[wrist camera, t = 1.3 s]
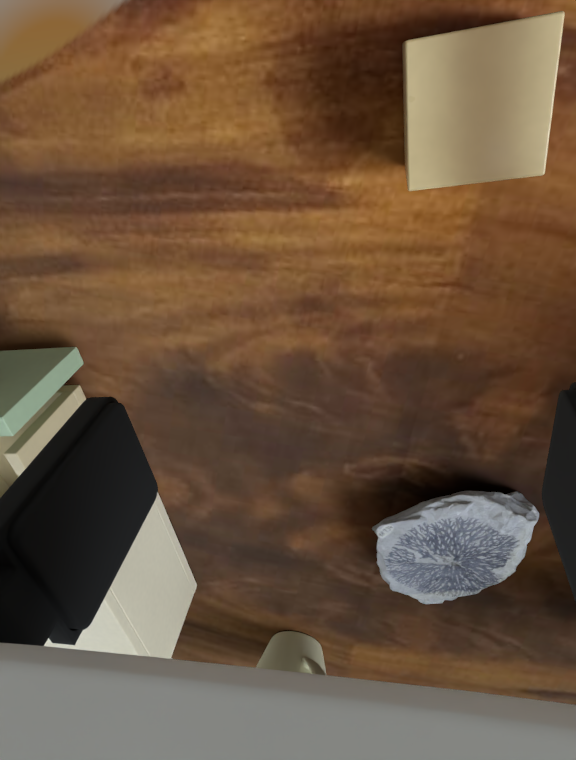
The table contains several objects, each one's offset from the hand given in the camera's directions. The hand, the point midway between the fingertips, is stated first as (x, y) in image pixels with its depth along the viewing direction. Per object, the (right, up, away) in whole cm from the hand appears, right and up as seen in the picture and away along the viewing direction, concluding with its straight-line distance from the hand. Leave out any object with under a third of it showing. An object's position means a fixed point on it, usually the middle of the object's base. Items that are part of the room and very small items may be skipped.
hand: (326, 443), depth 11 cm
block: (+6, +13, +9) cm, 16 cm away
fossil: (+10, -9, +23) cm, 26 cm away
